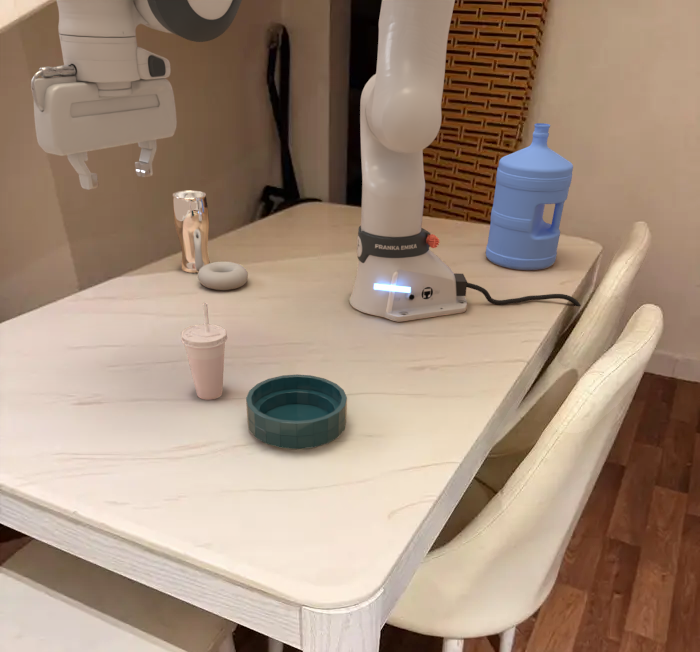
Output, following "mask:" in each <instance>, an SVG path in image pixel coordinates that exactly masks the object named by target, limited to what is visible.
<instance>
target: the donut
mask: <svg viewBox="0 0 700 652" xmlns="http://www.w3.org/2000/svg"><path fill="white" fill-rule="evenodd" d="M248 279H249V272H248V270H247V269H246V268H245V266H243V265H242V264H240V263H238V262H233V261H213V262H210V263H209V264H207V265H204V266H203V267H202V268H200V270H199V272H198V273H197V280H198V281H199V283H200V284H201V285H202V286H204V287H205V288H207V289H210V290H216V291H227V290H228V291H229V290H234V289H238V288H240V287H242V286H244V284H246V283H247V282H248Z"/></svg>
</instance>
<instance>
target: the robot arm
mask: <svg viewBox="0 0 700 652" xmlns="http://www.w3.org/2000/svg"><path fill="white" fill-rule="evenodd" d="M55 1H56V6H57V9H58V26H57V29H58V36H59V42H60V48H61V55H62V61H63V64H61V65H57V66H49V65H47V66H41V67H39V68H38V71H37V72H35V73H34V75H33V77H32V78H31V80H30V89H31V93H32V99H33V116H34V127H35V135H36V141H37V144H38V146H39V147H40V148H41V149H42V150H43V152H45V153H46V154H50V155H53V156H58V157H59V156H61V157H63V156H67V157H66V158H67V160H68V162H69V163H70V165H71V166H72V168H73V169H74V171H75V172H76V173H77V174H78V179H79V184H80V187H81V188H82V189H84V190H87V191H90V190H93V189H97V188H99V185H100V184H99V182H98V180H99V179H98V173H95V172H91V171H90V169H89V167H88V166H87V165H88V164H87V163H86V162H88V161H89V157H88V152H92V151H98V150H103V149H104V150H105V149H110V148H116V147H121V146H127V145H132V144H133V145H134V144H137V145H138V148H141V150H140V153H139V154H140V155H139V158H138V161H134V167H135V174H136V176H137V177H139V178H147V177H152V176H153V174H154V172H153V162H154V159H155V156H156V154H157V153H156V152H157V150H158V145H157V140H162V139H167V138H172V137H173V136H174V135H175V133H176V130H177V126H178V119H177V109H176V101H175V94H174V90H173V86H172V83H171V82H170V80H169V79H167V78H169V77H170V76H171V72H172V71H171V69H172V68H171V63H170V60H169V59H168V58H166V57H164V56H162V55H159V54H156V53H154V52H153V51H152V52H151V51H150V50H148V49H145V48H143V47H140V46H138V42H137V32H136V29H137V27H138V26H139V25H142V26H145V27H147V28H150V29H152V30H155V31H159V32H164V33H167V34H172V35H176V36H177V37H180V38H183V39H185V40H187V41H191V42H193V43H194V42H195V43H204V42H210V41H213V40H215V39H217V38H218V37H220V36H222V35H223V34H225V32H226V31H227V30H228V29H229V28H230V27H231V25H232V23H233V22H234V20H235V18H236V16H237V13H238V11H239V9H240V6H241V4H242V1H243V0H55ZM455 2H456V0H381V4H380V12H379V19H378V42H377V43H378V44H377V58H376V59H377V60H376V71H375V74H373V75H372V76H371V77H370V78H369V79H368V81H367V82H366V83H365V84H364V87H363V89H362V91H361V95H360V100H359V101H360V104H359V105H360V106H359V110H360V111H359V114H360V115H359V124H360V128H359V129H360V130H359V131H360V132H359V133H360V159H361V162H360V163H361V181H362V182H361V184H362V185H361V208H360V209H361V212H360V225H359V226H358V230H357V231H358V232H357V236H356V256H357V259H358V260H357V267H356V274H355V279H354V282H353V283H354V284H353V288H352V291H351V295H350V297H349V300H348V301H349V304H350V306H351V307H353V308H354V309H355V310H357V311H359V312H362V313H364V314H368V315H371V316H376V317H381V318H384V319H387V320H390V321H393V322H398V323H401V322H409V321H415V320H421V319H428V318H435V317H441V316H449V315H455V314H461V313H465V312H466V311H467V309H468V301H467V299H466V294H467V288H468V289H472V290H475V291H478V292H480V293H482V294H483V296H484V297H485V299H486V300H487V302H489V303H490V304H492V305H496V306H504V305H505V306H506V305H512V304H519V303H523V302H528V301H529V302H530V301H543V300H552V299H553V300H555V299H556V300H557V299H559V300H565V301H568V302H570V303H572V305H574V307H581V306H582V305H581V304H580V302H579V301H578V300H577V299H576V298H574V297H573V296H571V295H568V294H565V293H549V294H537V295H535V294H534V295H525V296H521V297H517V298H507V299H494V298H493V297H492V296H491V294H490V293H489V292H488V289H485V288H484V287H482V286H480V285H478V284H474V283H471V282H468V281H467V279H466V277H465V274H464V273H457V272H456V273H454V271H453V269H452V268H451V267H450V266H449V265H448V264H447V263H446V262H444V261H443V260H442V259H441V257H439V256H438V255H437V254H436V253H434V251H432V250H431V249H436V248H438V246H439V245H440V239H439V237H437V236H436V235H435V234H433V233H431V232H429V231H428V230H426V229H425V228H423V217H424V207H425V206H424V205H425V194H426V179H425V171H424V154H423V153H424V149H426V148H428V147H429V146H430V145H431V144H432V143H433V142H434V140H435V139H436V138H437V136H438V134H439V131H440V129H441V125H442V118H443V117H442V101H443V93H444V85H445V75H446V73H445V72H446V64H447V63H446V61H447V48H448V38H449V33H450V27H451V22H452V17H453V11H454V6H455ZM430 248H431V249H430Z"/></svg>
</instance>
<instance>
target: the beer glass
mask: <svg viewBox="0 0 700 652" xmlns="http://www.w3.org/2000/svg"><path fill="white" fill-rule="evenodd" d="M172 211H173V219H174V225H175V231H176V234H177V237H178V240H179V244H180V248H181V270H182V271H183V272H186V273H190V274H191V273H192V274H198V272H199V270H200V268H202V267H203V266H204V265H207V264H209V263H211V261H210V257H209V250H208V249H209V248H208V246H209V245H208V243H209V232H210V214H209V205H208V199H207V194H206V192H204V191H200V190H193V189H192V190H191V189H190V190H187V189H186V190H179V191H175V192H173V193H172Z"/></svg>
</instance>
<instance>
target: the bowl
mask: <svg viewBox="0 0 700 652" xmlns="http://www.w3.org/2000/svg"><path fill="white" fill-rule="evenodd" d="M245 404H246V420H247V427H248V431H249V432H250V433H251V434H252V436H254V438H255V439H257V440H258V441H260V442H262V443H264V444H266V445H268V446H272V447H276V448H280V449H291V450H301V449H302V450H304V449H313V448H316V447H320V446H324V445H327V444H329V443H331V442H333V441H335V440H337V439H338V438H339V437H340V436H341V435H342V434H343V433H344V432H345V430H346V426H347V413H348V412H347V411H348V396H347V394H346V392H345V389H343V388H342V387H341V386H340V385H339V384H337V383H336V382H334V381H332V380H329V379H327V378H324V377H319V376H315V375H311V374H299V373H298V374H297V373H296V374H284V375H277V376H274V377H270V378H267V379H264V380H262V381H260V382H258V383H257V384H255V385H254V386H253V387H251V389H249V391H248V393H247V395H246V397H245Z"/></svg>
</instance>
